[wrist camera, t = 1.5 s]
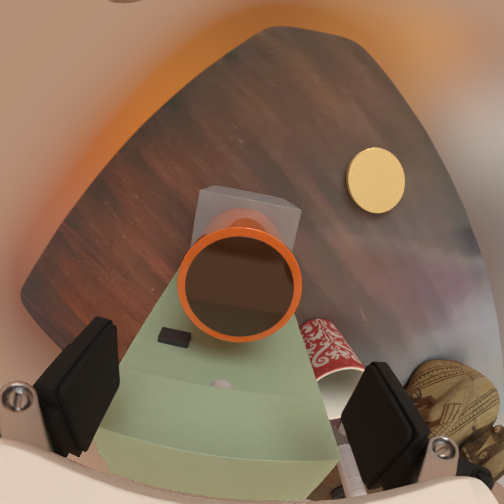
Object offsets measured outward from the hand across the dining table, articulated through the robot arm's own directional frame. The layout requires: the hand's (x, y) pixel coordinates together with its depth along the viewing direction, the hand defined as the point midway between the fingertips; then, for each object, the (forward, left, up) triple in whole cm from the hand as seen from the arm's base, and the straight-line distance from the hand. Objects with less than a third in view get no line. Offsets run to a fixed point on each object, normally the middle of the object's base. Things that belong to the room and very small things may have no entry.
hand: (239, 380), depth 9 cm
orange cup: (0, 0, -17) cm, 17 cm away
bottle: (+46, +32, -29) cm, 63 cm away
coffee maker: (+3, 0, -29) cm, 29 cm away
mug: (+16, +13, -29) cm, 35 cm away
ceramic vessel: (+25, +46, -29) cm, 60 cm away
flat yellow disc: (-10, +16, -29) cm, 34 cm away
